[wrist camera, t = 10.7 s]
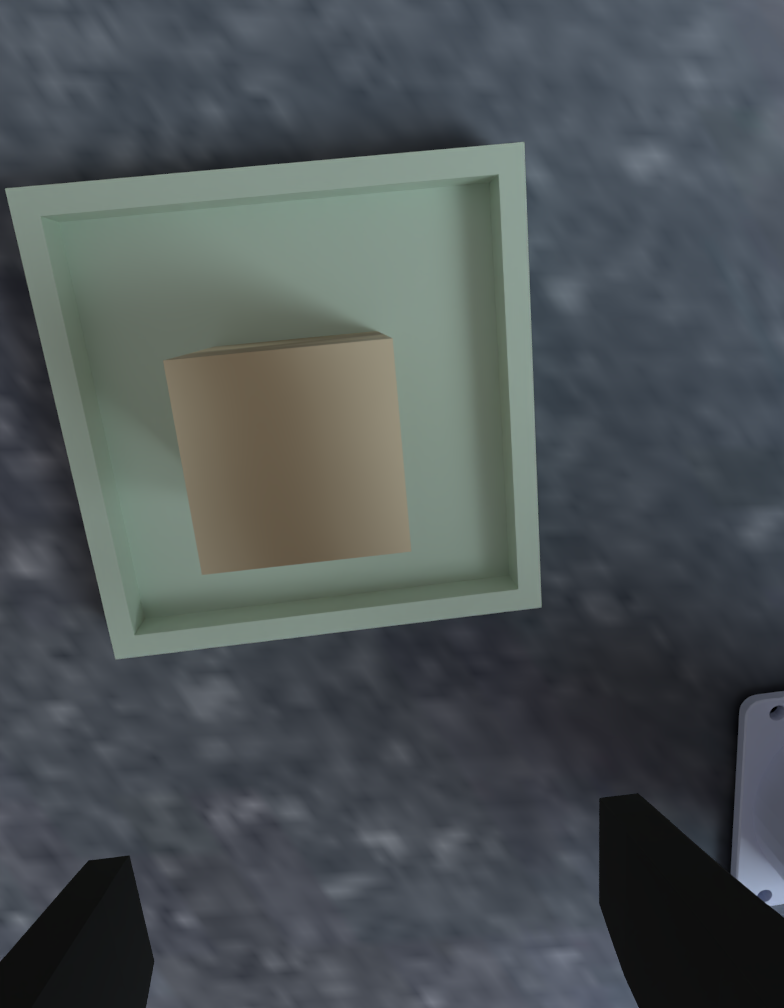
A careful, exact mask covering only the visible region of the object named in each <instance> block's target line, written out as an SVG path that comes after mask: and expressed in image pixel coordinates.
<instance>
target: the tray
mask: <svg viewBox="0 0 784 1008" xmlns="http://www.w3.org/2000/svg"><path fill="white" fill-rule="evenodd" d="M5 191H6V196H7V200H8V204H9V208H10V213H11V217H12V221H13V225H14V230H15V234H16V238H17V242H18V247H19V251H20V255H21V259H22V264H23V268H24V272H25V276H26V281H27V285H28V289H29V293H30V298H31V302H32V306H33V311H34V315H35V319H36V323H37V328H38V332H39V336H40V340H41V345H42V349H43V353H44V357H45V362H46V366H47V370H48V374H49V379H50V383H51V387H52V391H53V396H54V400H55V404H56V408H57V413H58V417H59V421H60V425H61V430H62V434H63V438H64V442H65V447H66V451H67V455H68V460H69V464H70V468H71V472H72V477H73V481H74V485H75V489H76V494H77V498H78V502H79V506H80V511H81V515H82V519H83V523H84V528H85V532H86V536H87V540H88V545H89V549H90V553H91V557H92V562H93V566H94V570H95V574H96V579H97V583H98V587H99V592H100V596H101V600H102V604H103V609H104V613H105V617H106V621H107V626H108V630H109V634H110V638H111V643H112V647H113V651H114V655H115V659H124V658H132V657H140V656H148V655H156V654H165V653H173V652H181V651H189V650H197V649H206V648H214V647H222V646H230V645H238V644H247V643H255V642H263V641H271V640H279V639H287V638H296V637H304V636H312V635H320V634H328V633H337V632H345V631H353V630H361V629H369V628H378V627H386V626H394V625H402V624H410V623H419V622H427V621H435V620H443V619H451V618H459V617H468V616H476V615H484V614H492V613H500V612H509V611H517V610H525V609H533V608H541V607H542V603H541V576H540V550H539V523H538V496H537V469H536V442H535V415H534V389H533V362H532V335H531V308H530V281H529V255H528V228H527V201H526V174H525V147H524V142H519V143H507V144H496V145H485V146H474V147H463V148H451V149H440V150H429V151H418V152H407V153H396V154H384V155H373V156H362V157H351V158H340V159H329V160H317V161H306V162H295V163H284V164H273V165H261V166H250V167H239V168H228V169H217V170H206V171H194V172H183V173H172V174H161V175H150V176H138V177H127V178H116V179H105V180H94V181H83V182H71V183H60V184H49V185H38V186H27V187H16V188H5ZM372 331H378V332H380V333H382V334H384V335H387V336H389V337H391V338H393V348H394V359H395V371H396V382H397V394H398V405H399V416H400V428H401V439H402V451H403V462H404V473H405V485H406V496H407V508H408V519H409V530H410V542H411V552H403V553H394V554H385V555H377V556H368V557H359V558H350V559H341V560H332V561H323V562H314V563H305V564H296V565H287V566H278V567H269V568H260V569H251V570H242V571H233V572H224V573H216V574H207V575H202V573H201V567H200V562H199V556H198V551H197V545H196V540H195V534H194V529H193V523H192V518H191V512H190V507H189V501H188V496H187V490H186V485H185V479H184V474H183V468H182V463H181V457H180V452H179V446H178V441H177V435H176V429H175V424H174V418H173V413H172V407H171V402H170V396H169V391H168V385H167V380H166V374H165V369H164V363H163V360H167V359H171V358H174V357H178V356H182V355H185V354H189V353H193V352H196V351H200V350H204V349H207V348H211V347H216V346H226V345H236V344H247V343H257V342H268V341H278V340H289V339H299V338H310V337H320V336H330V335H341V334H351V333H362V332H372Z"/></svg>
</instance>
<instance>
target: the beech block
mask: <svg viewBox="0 0 784 1008" xmlns="http://www.w3.org/2000/svg"><path fill="white" fill-rule="evenodd" d="M163 363H164V369H165V374H166V380H167V385H168V391H169V396H170V402H171V407H172V413H173V418H174V424H175V429H176V435H177V441H178V446H179V452H180V457H181V463H182V468H183V474H184V479H185V485H186V490H187V496H188V501H189V507H190V512H191V518H192V523H193V529H194V534H195V540H196V545H197V551H198V556H199V562H200V567H201V573H202V575H207V574H216V573H224V572H233V571H242V570H251V569H260V568H269V567H278V566H287V565H296V564H305V563H314V562H323V561H332V560H341V559H350V558H359V557H368V556H377V555H385V554H394V553H403V552H411V542H410V530H409V519H408V508H407V496H406V485H405V473H404V462H403V451H402V439H401V428H400V416H399V405H398V394H397V382H396V371H395V359H394V348H393V338H391V337H389V336H387V335H384V334H382V333H380V332H378V331H372V332H362V333H351V334H341V335H330V336H320V337H310V338H299V339H289V340H278V341H268V342H257V343H247V344H236V345H226V346H216V347H211V348H207V349H204V350H200V351H196V352H193V353H189V354H185V355H182V356H178V357H174V358H171V359H167V360H163Z"/></svg>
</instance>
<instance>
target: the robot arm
mask: <svg viewBox="0 0 784 1008" xmlns="http://www.w3.org/2000/svg"><path fill="white" fill-rule="evenodd" d="M775 706H778V707H777V709H776V710H775V711H774V712H772V713H770V711H771V709H772V708H773V707H775ZM599 904H600V907H601V910H602V913H603V916H604V919H605V922H606V925H607V928H608V931H609V934H610V937H611V940H612V943H613V945H614V948H615V951H616V954H617V956H618V959H619V962H620V965H621V968H622V970H623V973H624V976H625V978H626V980H627V983H628V985H629V987H630V989H631V991H632V994H633V996H634V998H635V1000H636V1002H637V1005H638V1007H639V1008H784V917H782V916H781V915H780V914H779V913H777V912H776V911H775V910H774V909H772V908H771V907H770V906H773V905H780V904H784V691H779V692H771V693H764V694H756V695H753V696H750V697H748V698H747V699H746V700H744V702H743V703H742V704H741V707H740V710H739V728H738V746H737V764H736V783H735V801H734V819H733V838H732V856H731V874H730V873H729V872H728V871H726V870H725V869H724V868H723V867H722V866H720V865H719V864H718V863H717V862H716V861H715V860H713V859H712V858H711V857H710V856H709V855H708V854H707V853H705V852H704V851H703V850H702V849H701V848H700V847H699V846H697V845H696V844H695V843H694V842H693V841H692V840H690V839H689V838H688V837H687V836H686V835H685V834H684V833H683V832H681V831H680V830H679V829H678V828H677V827H676V826H675V825H674V824H672V823H671V822H670V821H669V820H668V819H667V818H666V817H665V816H663V815H662V814H661V813H660V812H659V811H658V810H657V809H655V808H654V807H653V806H652V805H651V804H650V803H649V802H647V801H646V800H645V799H644V798H643V797H642V796H640V795H639V794H638V793H637V794H629V795H621V796H613V797H605V798H599ZM153 965H154V958H153V954H152V950H151V945H150V941H149V937H148V933H147V928H146V924H145V920H144V915H143V911H142V907H141V903H140V898H139V894H138V890H137V886H136V881H135V877H134V873H133V868H132V864H131V860H130V856H122V857H114V858H106V859H98V860H89V861H88V862H87V863H86V864H85V865H84V866H83V867H82V869H81V870H80V871H79V872H78V873H77V874H76V875H75V876H74V878H73V879H72V880H71V881H70V882H69V883H68V884H67V886H66V887H65V888H64V889H63V890H62V891H61V892H60V894H59V895H58V896H57V897H56V898H55V899H54V901H53V902H52V903H51V904H50V905H49V906H48V907H47V909H46V910H45V911H44V912H43V913H42V914H41V916H40V917H39V918H38V919H37V920H36V921H35V923H34V924H33V925H32V926H31V927H30V928H29V929H28V931H27V932H26V933H25V934H24V935H23V936H22V938H21V939H20V940H19V941H18V942H17V943H16V944H15V946H14V947H13V948H12V949H11V950H10V951H9V952H8V954H7V955H6V956H5V957H4V958H3V959H2V960H1V961H0V1008H146V1004H147V998H148V993H149V987H150V982H151V976H152V971H153Z"/></svg>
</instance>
